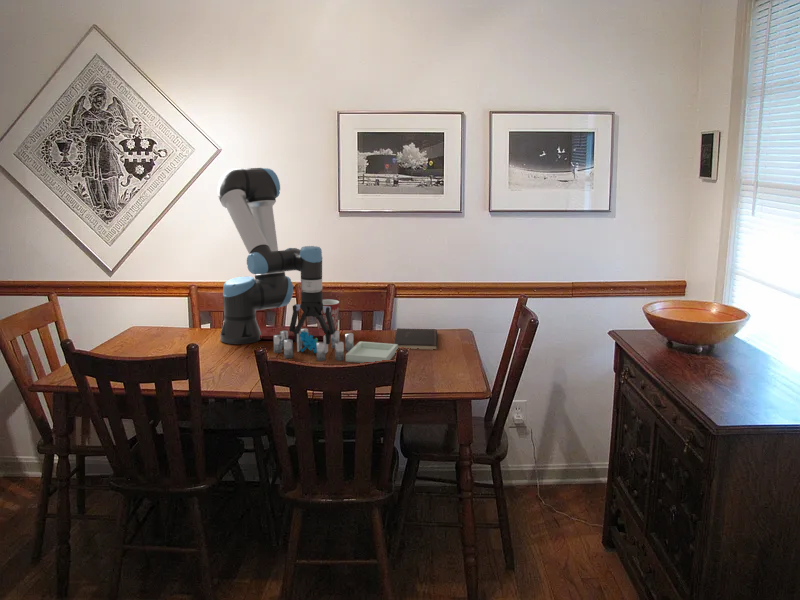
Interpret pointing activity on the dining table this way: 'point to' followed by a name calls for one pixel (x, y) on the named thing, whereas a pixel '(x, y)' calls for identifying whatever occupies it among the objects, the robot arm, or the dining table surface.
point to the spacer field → (287, 344)
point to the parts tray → (371, 352)
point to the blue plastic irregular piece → (309, 342)
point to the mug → (334, 313)
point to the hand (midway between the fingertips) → (312, 351)
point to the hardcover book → (416, 338)
